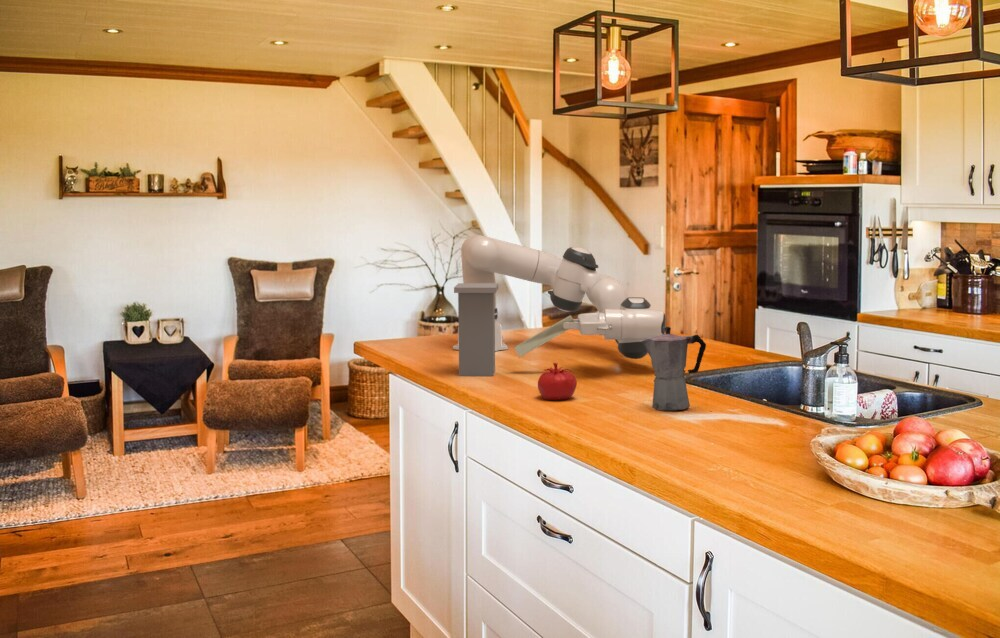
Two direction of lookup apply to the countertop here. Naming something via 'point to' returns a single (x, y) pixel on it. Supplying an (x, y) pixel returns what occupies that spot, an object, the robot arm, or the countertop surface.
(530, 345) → the beige block
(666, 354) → the moka pot
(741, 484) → the countertop surface
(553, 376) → the pomegranate
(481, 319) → the tall stand
